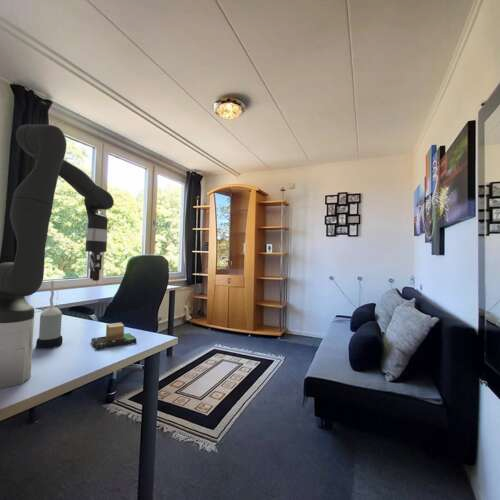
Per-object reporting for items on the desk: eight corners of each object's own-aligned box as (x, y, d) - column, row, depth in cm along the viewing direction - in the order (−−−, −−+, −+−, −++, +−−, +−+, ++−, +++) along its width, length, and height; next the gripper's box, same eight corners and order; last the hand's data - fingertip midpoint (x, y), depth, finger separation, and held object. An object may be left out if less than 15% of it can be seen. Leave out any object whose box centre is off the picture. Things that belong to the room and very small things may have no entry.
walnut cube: (123, 339, 108) (124, 325, 108) (108, 341, 105) (109, 327, 105) (120, 335, 112) (121, 322, 113) (105, 337, 109) (106, 324, 109)
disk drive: (96, 353, 99) (136, 345, 109) (96, 345, 100) (137, 338, 109) (90, 345, 107) (129, 338, 117) (90, 338, 107) (129, 332, 117)
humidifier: (40, 342, 105) (44, 279, 105) (65, 341, 108) (68, 279, 108) (32, 350, 97) (36, 282, 98) (58, 348, 100) (62, 282, 101)
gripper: (110, 240, 106) (107, 281, 105) (103, 241, 117) (101, 278, 116) (88, 239, 101) (85, 281, 100) (83, 240, 112) (81, 278, 112)
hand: (94, 279), depth 108 cm, fingers open, 8 cm apart
